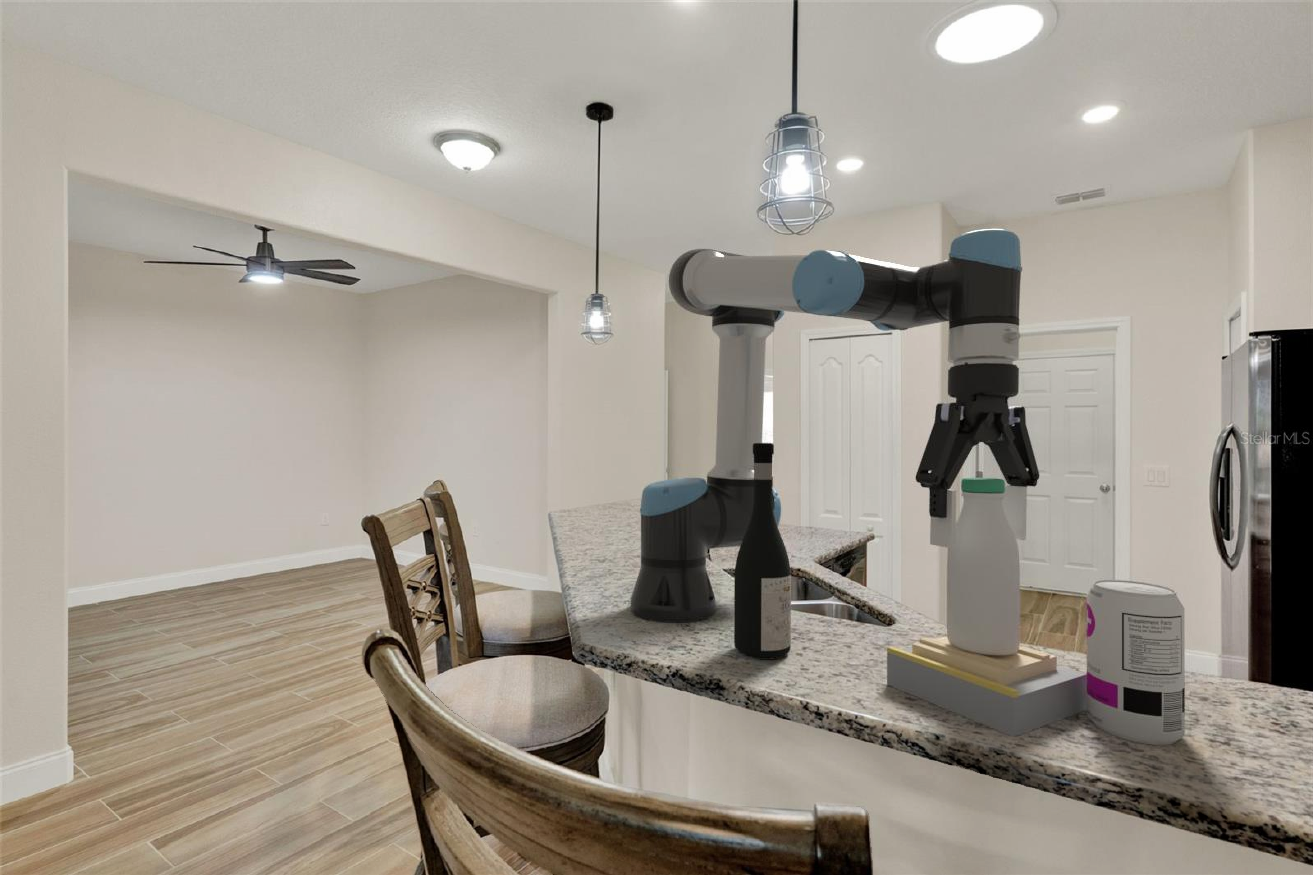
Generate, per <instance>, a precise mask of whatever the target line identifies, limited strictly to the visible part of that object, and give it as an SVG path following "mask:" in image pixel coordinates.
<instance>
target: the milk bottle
mask: <svg viewBox="0 0 1313 875" xmlns="http://www.w3.org/2000/svg"><path fill="white" fill-rule="evenodd" d="M960 482H961V483H960V487H961V488H960V489H961V496H962V498H963V503H962V507H961V510H960V513H959V516H958V518H957V519H956V538H955V548H947V555H946V556H947V561H946V562H947V564H946V636H947V639H948V641H949V643H950V644H951V645H953V646H955V647H957V648H959V649H962V650H965V651H969V652H974V653H979V654H986V655H1011V654H1014V653H1016V652H1017V651H1018V649H1019V647H1020V646H1021V645H1020V644H1021V627H1020V626H1021V584H1020V583H1021V579H1020V578H1021V577H1020V576H1021V570H1020V553H1019V546H1018V542H1017V539H1016V538H1015V535H1014V533H1013V531H1012V529H1011V527H1010V525H1009V523H1008V521H1007V518H1006V516H1005V513H1004V509H1003V505H1002V499H1003V498H1004V497H1005V496H1004V493H1003V492H1004V491H1005V485H1006V484H1005V479H1001V478H992V477H964V478H962V479H961V481H960Z"/></svg>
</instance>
